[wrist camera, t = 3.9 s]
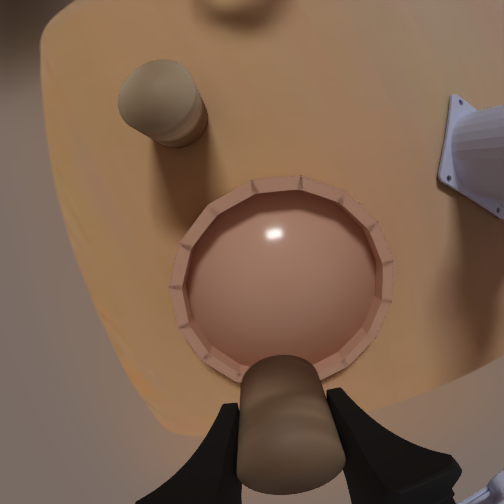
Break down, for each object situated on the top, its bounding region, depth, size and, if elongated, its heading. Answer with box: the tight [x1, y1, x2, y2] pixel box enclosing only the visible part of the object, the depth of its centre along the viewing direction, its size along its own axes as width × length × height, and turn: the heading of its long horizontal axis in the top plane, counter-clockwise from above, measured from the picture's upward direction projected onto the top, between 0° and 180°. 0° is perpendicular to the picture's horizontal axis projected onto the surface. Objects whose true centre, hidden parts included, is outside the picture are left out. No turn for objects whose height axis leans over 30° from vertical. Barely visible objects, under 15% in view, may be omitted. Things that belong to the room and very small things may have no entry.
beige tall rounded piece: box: [118, 60, 208, 148], centre depth 15 cm, size 4×4×6 cm
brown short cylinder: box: [237, 355, 346, 495], centre depth 11 cm, size 4×4×6 cm
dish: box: [169, 175, 393, 383], centre depth 19 cm, size 15×15×2 cm
